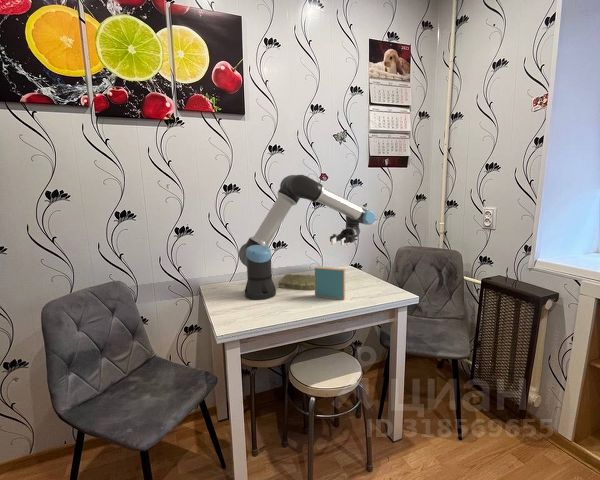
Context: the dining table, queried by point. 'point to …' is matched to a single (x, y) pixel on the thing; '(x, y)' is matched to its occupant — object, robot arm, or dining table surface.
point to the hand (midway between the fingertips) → (336, 242)
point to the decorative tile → (298, 282)
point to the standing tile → (330, 283)
